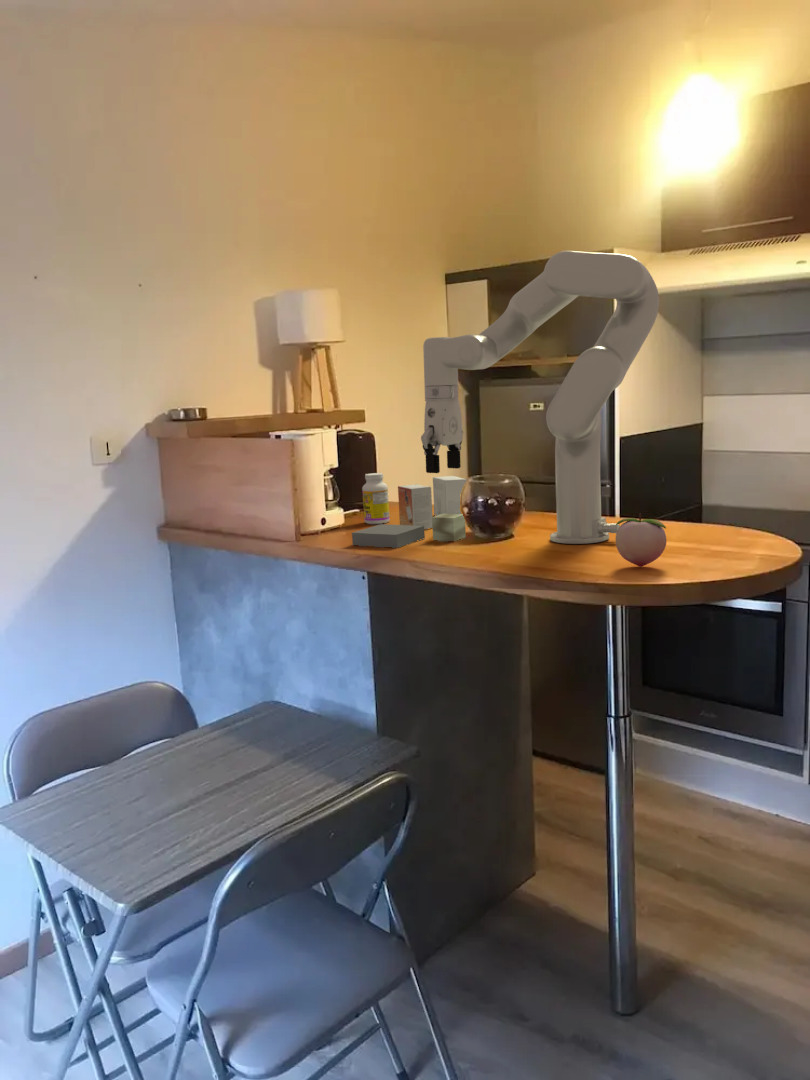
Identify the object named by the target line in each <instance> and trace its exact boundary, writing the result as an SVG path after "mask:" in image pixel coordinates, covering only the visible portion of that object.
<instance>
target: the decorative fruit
mask: <svg viewBox="0 0 810 1080" xmlns="http://www.w3.org/2000/svg"><path fill="white" fill-rule="evenodd" d="M638 515H639V518H635V517H630V518H622V519H620V520H619V521H617V522H616V523H615V524H616V525H618V524H619V525H620V524H621V525H620V527H619V528H618V530H617V533H615V534H616V535H615V546H616V550H617V552H618V553H619V555H620V556H621V558H622V559H624V560H625V561H627V562H629V563H631V564H633V565H634V566H637V567H639V568H642V567H644V566H647V565H650V564H651V563H652V562H654V561H656V560H657V559H659V557H660V556H661V555H662V554H663V552H664V551H665V549H666V546H667V543H668V542H667V541H668V540H667V535H666V531H665V529H667V527H666V525H665V524H664V523H662V521H660V520H658V519H654V518H645V519H642V513H639V514H638Z"/></svg>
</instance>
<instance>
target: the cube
mask: <svg viewBox="0 0 810 1080" xmlns="http://www.w3.org/2000/svg"><path fill="white" fill-rule="evenodd" d="M432 527H433V528H432V541H433V540H438V541H437V542H448V541H455V542H458V541H460V540H459V539H461V540H463V539H466V538H465V537H466V535H467V534H466V530H467V529H466V518H465V519H464V516H463V514H441V515H438V516H432ZM462 538H463V539H462ZM457 540H458V541H457Z"/></svg>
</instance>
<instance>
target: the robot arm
mask: <svg viewBox="0 0 810 1080" xmlns="http://www.w3.org/2000/svg"><path fill="white" fill-rule="evenodd" d="M659 296H660V295H659V290H658V287H657V284H656V282H655V280H654V278H653V276H652V274H651V273H650V271H649V270H648V268H647V267H646V265H644V263H642V262H641V261H640V260H638V259H637V258H635V257H633V256H632V255H627V254H621V253H608V252H607V253H605V252H590V251H577V250H576V251H575V250H563V251H559V252H557V253H555V254H554V255H552V256H551V257H550V258H549V259H548V261H547V262H546V264H545V266H544V269H543V271H542V272H541V273H540V274H539V275H537V276H536V277H535V278H533V280H531V281H530V282H528V283H527V284H526V285H525V286H524V287H522V288H521V289H520V290H519V291H517V292H516V293H515V294H514V295H512V297H511V299H509V302H508V305H507V308H506V309H505V311H503V313H502V314H501V315H500V317H498V319H496V320H495V321H494V322H493V323H492V324H491V325H489V326H487V328H486V329H484V330H482V331H481V332H480V333H479V334H465V335H459V336H453V337H452V336H451V337H450V336H441V337H440V336H438V337H436V336H435V337H429V338H426V339H425V340H424V342H423V345H422V348H423V375H424V376H423V378H424V379H423V380H424V382H423V383H424V401H425V407H424V420H423V421H424V422H423V423H424V424H423V425H424V426H423V427H424V430H423V431H424V432H423V433H422V434H421V436H420V440H421V443H422V449H423V451H424V452H423V454H424V455H425V472H426V473H427V474H439V473H440V472H441V471H440V470H441V469H440V467H441V466H440V454H438V453H439V450H440V447H441V446H446V447H447V449H448V450H446V458H447V459H446V465H447V466H446V467H447V469H461V467H462V466H461V464H462V463H461V451H462V443H463V438H464V437H463V436H464V430H463V420H462V418H463V417H462V412H461V411H462V410H461V404H460V400H459V399H460V398H459V370H467V371H477V370H485V369H488V368H490V367H492V366H493V365H494V364H496V363H497V362H499V361H500V360H501V359H502V358H504V357H505V356H507V355H508V354H509V353H511V352H512V351H513V350H514V349H516V347H518V346H519V345H520V344H522V342H524V341H525V340H526V339H527V338H528V337H529V336H531V335H532V334H533V333H534V332H535V331H536V330H537V329H538V328H539V327H541V326H542V325H544V323H545V322H547V321H548V320H549V319H551V318H552V317H553V316H555V315H556V314H558V312H560V311H561V310H563V308H565V307H566V306H568V305H569V304H571V303H572V302H574V300H575V299H577V298H578V297H588V298H589V297H591V298H603V299H611V300H615V301H616V306H615V310H614V312H613V314H612V315H611V317H610V318H609V320H608V321H607V323H606V325H605V327H604V328H603V330H602V332H601V334H600V335H599V337H598V339H597V340H596V342H595V343H594V344H593V347H589V348H588V349H586V350H584V351H583V352H582V353H580V354H579V355H578V357H577V358H576V359H575V361H574V363H573V364H572V365H571V368H570V369H569V371H568V372H567V375H566V376H565V378H564V379H563V381H562V383H561V384H560V386H559V388H558V390H557V392H556V393H555V395H554V397H553V399H552V400H551V402H550V403H549V405H548V408H547V410H546V414H545V415H546V417H545V419H546V426H547V428H548V430H549V431H550V433H551V434H552V435H553V436H554V437H555V444H554V445H555V446H554V452H555V453H554V458H555V459H554V461H555V462H554V463H555V470H554V472H555V473H554V474H555V500H556V502H555V503H556V506H555V507H556V531H554V532H552V533H551V534H549V535H550V536H549V539H550V541H551V542H554V543H557V544H566V545H568V544H569V545H584V544H585V545H587V544H595V543H597V544H598V543H602V542H605V541H607V540H609V539H610V534H616V533H617V530H618V528H619V527H620V526H621V525H620V524H618V525H616V524H617V523H608V522H607V521H606V517H605V516H604V517H603V516H602V498H601V497H602V495H601V493H602V492H601V488H602V487H601V435H602V432H601V431H602V430H601V429H602V414H601V410H602V409H603V407H604V406H605V404H606V402H607V401H608V399H609V397H610V396H611V395H612V393H613V391H615V390H616V389H617V388H618V387H619V386H620V385H621V384H622V383H623V381H624V379H625V377H626V375H627V372H628V371H629V369H630V368H631V365H632V364H633V362H634V361H635V358H636V357H637V355H638V354H639V352H640V350H641V348H642V346H643V344H644V343H645V341H646V339H647V338H648V336H649V334H650V333H651V330H652V329H653V326H654V325H655V323H656V320H657V317H658V313H659V308H660V297H659Z"/></svg>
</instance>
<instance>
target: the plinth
mask: <svg viewBox="0 0 810 1080" xmlns="http://www.w3.org/2000/svg"><path fill="white" fill-rule="evenodd" d="M351 538H352V539H351V541H352V546H353V545H359V546H358V547H366V546H374V547H373V548H384V547H392V548H391V549H399V548H401V546H402V547H405V546H408V545H411V544H413V543H412V542H414V543H416V542H415V541H417V540H419V541H421V540H420V539H422V540H424V539H423V538H425V539H426V535H425V530H424V526H415V525H400V524H389V523H388V524H387V523H384V524H375V525H372V526H370V527H367V528H366V527H365V528H364V529H360V530H357V531H354V532H351ZM417 542H418V541H417ZM410 543H411V544H410ZM407 544H408V545H407ZM404 545H405V546H404ZM398 547H399V548H398Z"/></svg>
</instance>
